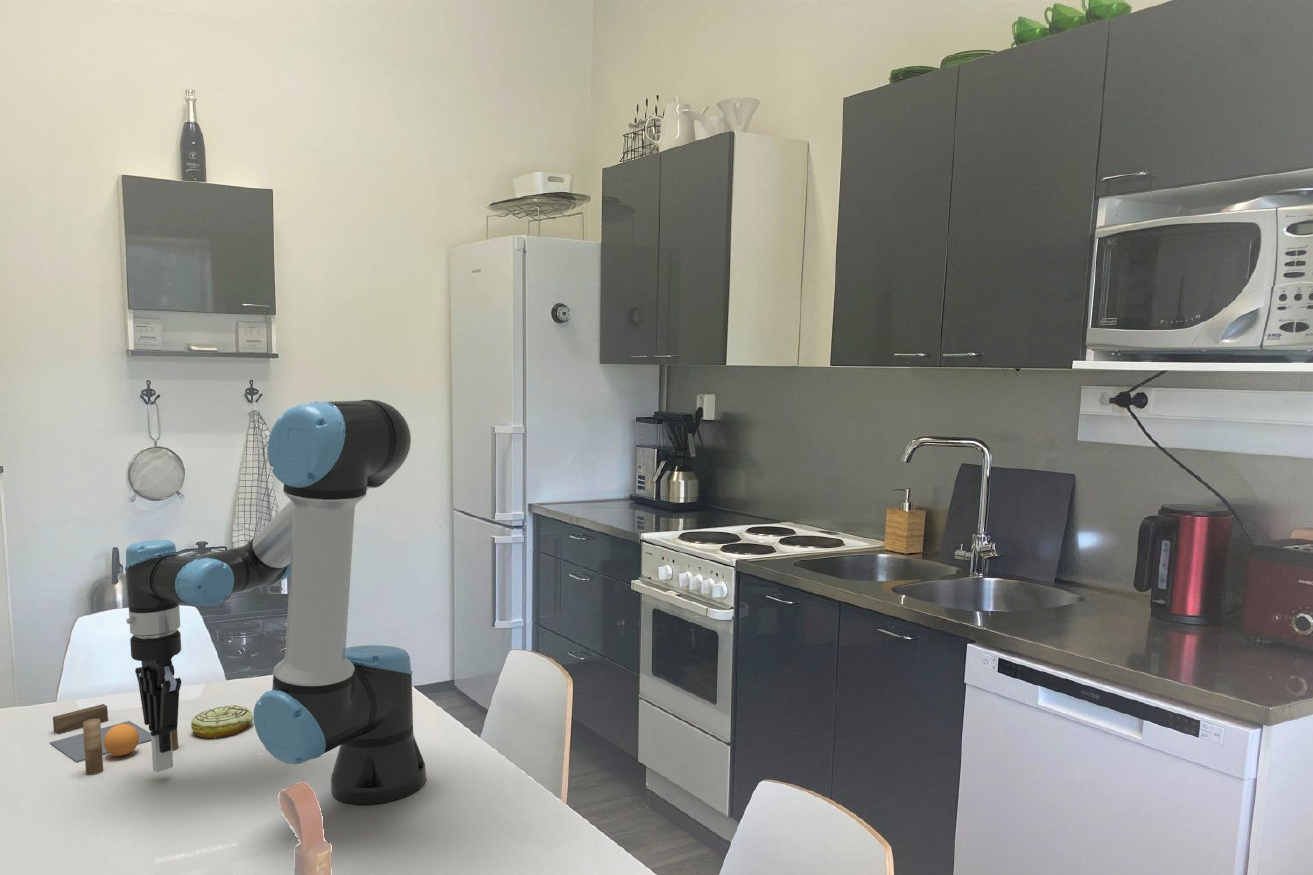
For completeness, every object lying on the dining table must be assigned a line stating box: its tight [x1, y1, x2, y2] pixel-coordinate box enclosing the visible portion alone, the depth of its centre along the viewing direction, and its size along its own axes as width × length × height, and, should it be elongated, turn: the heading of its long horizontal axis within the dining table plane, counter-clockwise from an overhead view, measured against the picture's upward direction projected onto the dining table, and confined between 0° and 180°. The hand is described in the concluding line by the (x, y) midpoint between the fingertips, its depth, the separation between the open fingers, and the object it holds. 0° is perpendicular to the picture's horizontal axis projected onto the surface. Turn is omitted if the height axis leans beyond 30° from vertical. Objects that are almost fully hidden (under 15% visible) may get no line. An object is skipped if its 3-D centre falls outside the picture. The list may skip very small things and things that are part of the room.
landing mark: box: [49, 720, 151, 763], centre depth 180 cm, size 14×14×1 cm
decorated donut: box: [190, 704, 254, 739], centre depth 184 cm, size 10×11×4 cm
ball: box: [104, 723, 139, 757], centre depth 172 cm, size 6×6×6 cm
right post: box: [171, 728, 179, 752], centre depth 175 cm, size 3×3×9 cm
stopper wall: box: [52, 703, 109, 735], centre depth 187 cm, size 2×9×3 cm, turn 139°
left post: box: [82, 719, 104, 776], centre depth 165 cm, size 3×3×9 cm
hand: (163, 768), depth 162 cm, fingers closed
